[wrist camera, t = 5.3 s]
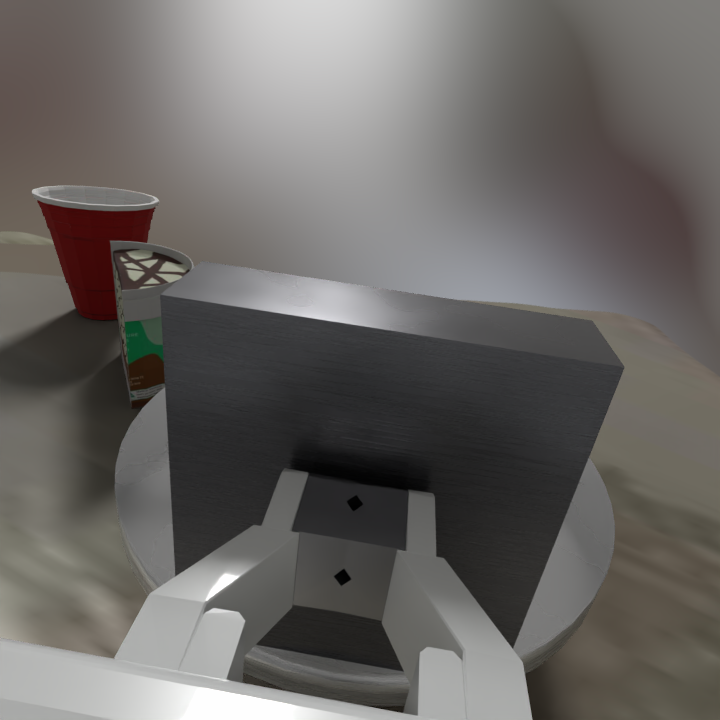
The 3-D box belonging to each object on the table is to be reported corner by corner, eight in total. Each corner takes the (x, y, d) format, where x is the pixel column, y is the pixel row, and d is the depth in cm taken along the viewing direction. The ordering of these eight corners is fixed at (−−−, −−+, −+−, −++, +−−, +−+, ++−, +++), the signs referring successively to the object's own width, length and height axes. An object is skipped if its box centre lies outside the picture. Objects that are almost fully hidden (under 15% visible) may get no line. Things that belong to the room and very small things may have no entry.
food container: (217, 407, 43) (217, 289, 38) (133, 419, 40) (122, 293, 36) (188, 339, 52) (186, 238, 48) (119, 345, 50) (109, 238, 45)
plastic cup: (181, 298, 61) (177, 189, 55) (133, 338, 51) (123, 211, 46) (89, 283, 62) (76, 173, 56) (25, 319, 52) (1, 192, 46)
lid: (-16, 636, 14) (-136, 253, 9) (220, 341, 31) (220, 146, 26) (693, 768, 13) (955, 423, 9) (547, 393, 30) (610, 202, 25)
